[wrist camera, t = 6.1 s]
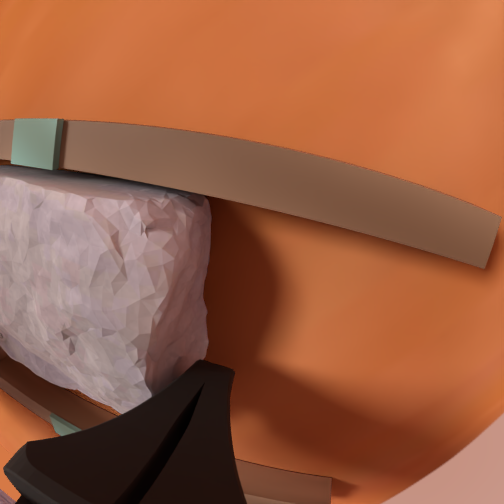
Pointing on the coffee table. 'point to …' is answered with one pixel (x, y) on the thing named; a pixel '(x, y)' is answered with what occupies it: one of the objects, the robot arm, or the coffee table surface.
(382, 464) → the coffee table surface
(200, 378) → the robot arm
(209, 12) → the coffee table surface
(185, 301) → the stone block
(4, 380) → the channel
